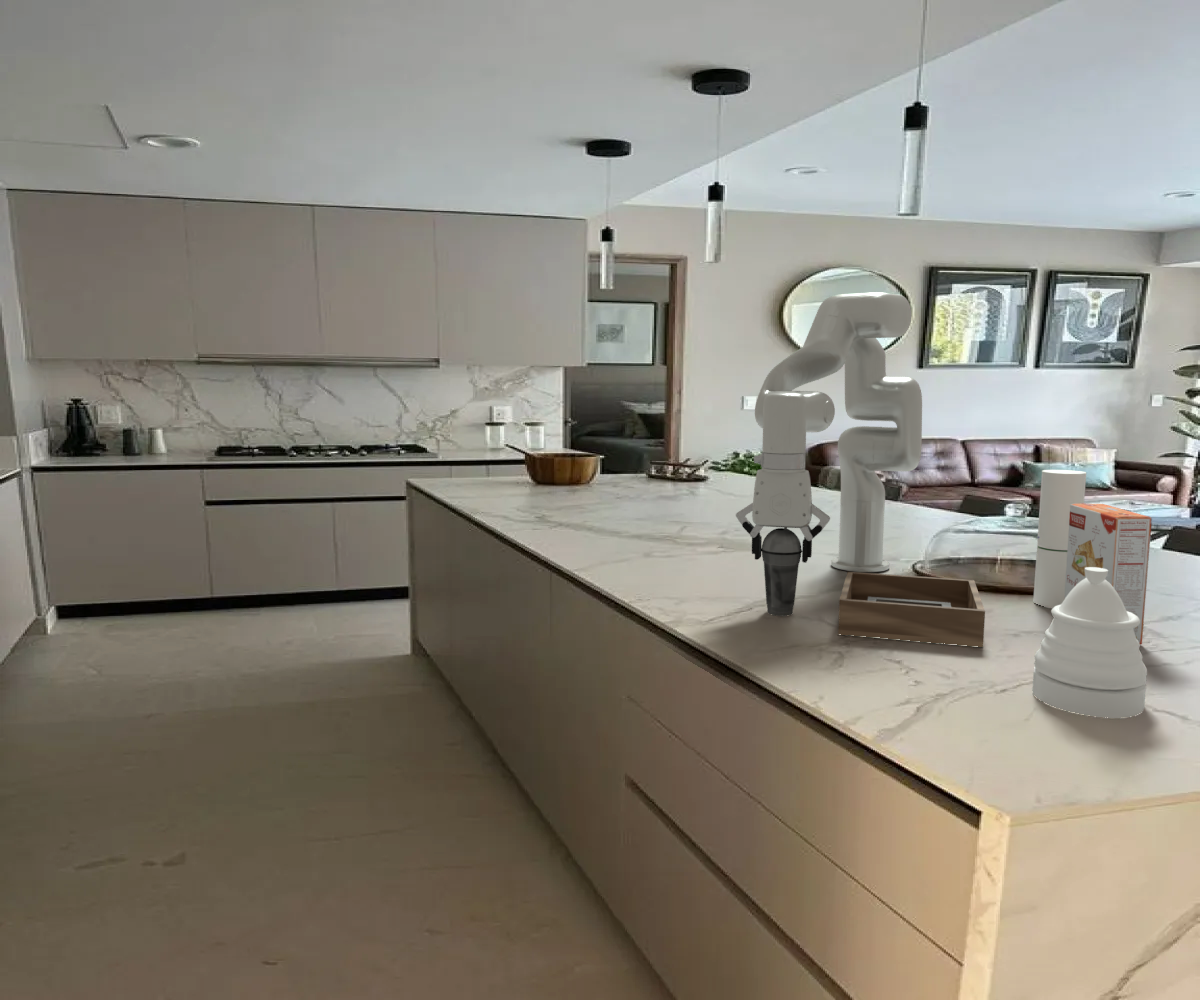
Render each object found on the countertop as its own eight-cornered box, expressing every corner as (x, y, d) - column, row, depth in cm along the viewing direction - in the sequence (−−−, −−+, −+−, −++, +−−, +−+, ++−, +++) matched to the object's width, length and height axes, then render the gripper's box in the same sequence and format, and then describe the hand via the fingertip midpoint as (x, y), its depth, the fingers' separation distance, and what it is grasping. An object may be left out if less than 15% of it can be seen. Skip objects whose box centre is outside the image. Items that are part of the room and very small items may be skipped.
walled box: (846, 602, 161) (847, 571, 161) (972, 612, 154) (974, 580, 153) (838, 635, 141) (839, 600, 140) (982, 648, 134) (985, 611, 133)
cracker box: (1059, 621, 148) (1068, 502, 145) (1095, 621, 148) (1104, 502, 145) (1104, 646, 134) (1114, 515, 132) (1143, 646, 134) (1154, 515, 131)
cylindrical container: (1072, 600, 162) (1081, 470, 158) (1079, 610, 155) (1090, 474, 151) (1030, 598, 164) (1039, 469, 160) (1036, 607, 157) (1045, 473, 154)
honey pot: (1144, 726, 103) (1157, 582, 101) (1027, 705, 110) (1036, 570, 108) (1143, 693, 114) (1155, 562, 112) (1036, 676, 121) (1045, 552, 118)
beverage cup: (755, 607, 158) (757, 501, 155) (793, 606, 159) (796, 500, 156) (765, 618, 151) (768, 507, 148) (805, 617, 151) (809, 506, 149)
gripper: (730, 463, 150) (729, 560, 153) (832, 466, 145) (829, 567, 147) (738, 459, 157) (737, 552, 160) (835, 462, 152) (832, 558, 154)
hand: (781, 559), depth 153 cm, fingers open, 7 cm apart
